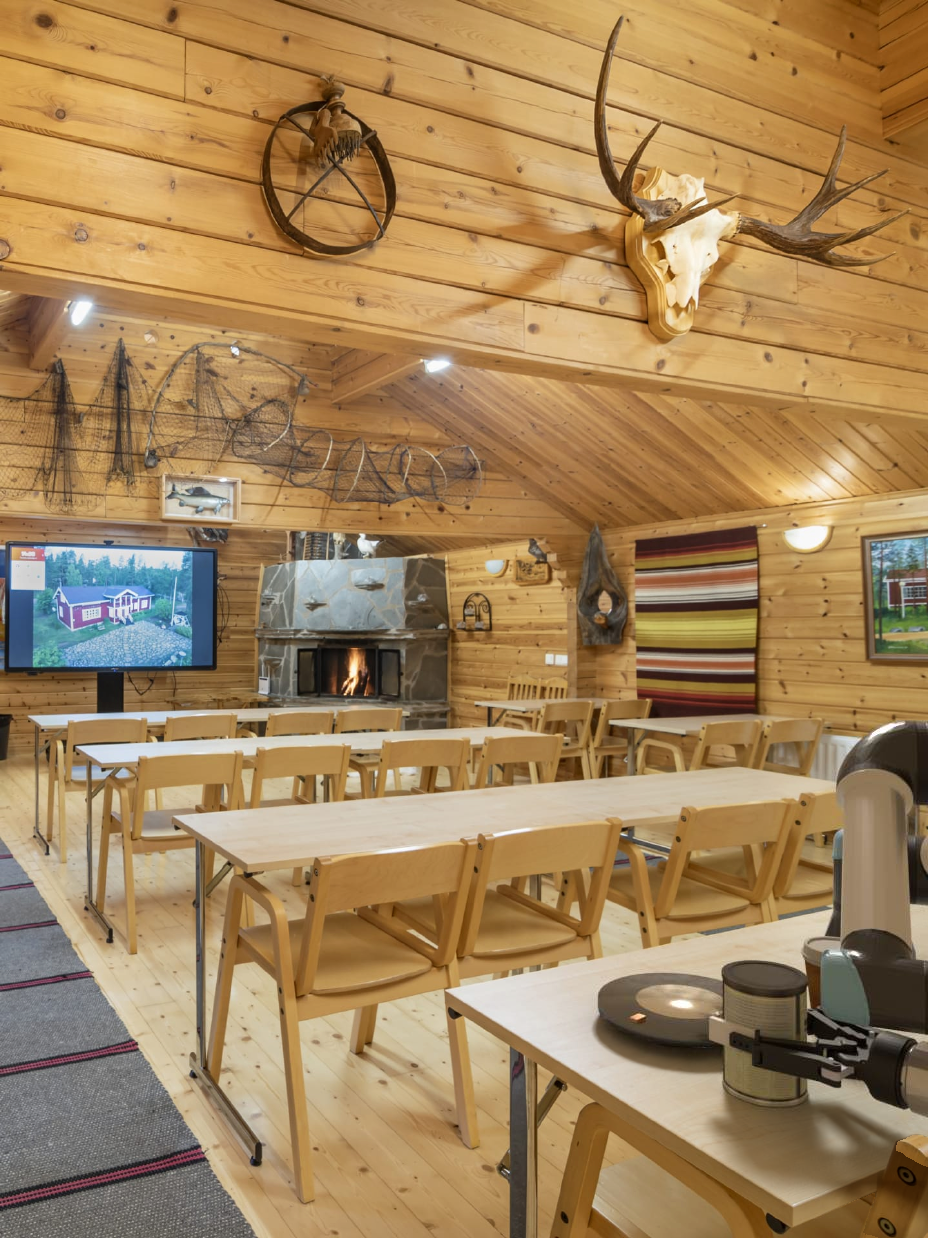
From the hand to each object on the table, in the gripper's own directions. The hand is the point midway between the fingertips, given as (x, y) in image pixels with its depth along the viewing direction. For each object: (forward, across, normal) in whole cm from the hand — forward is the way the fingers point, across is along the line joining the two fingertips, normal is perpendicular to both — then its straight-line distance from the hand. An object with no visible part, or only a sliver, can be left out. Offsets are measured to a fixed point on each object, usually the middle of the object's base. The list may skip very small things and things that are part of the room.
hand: (733, 1016), depth 120 cm
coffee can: (-4, 0, -8) cm, 9 cm away
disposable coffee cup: (-2, +24, -8) cm, 25 cm away
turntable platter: (+14, +9, -6) cm, 17 cm away
